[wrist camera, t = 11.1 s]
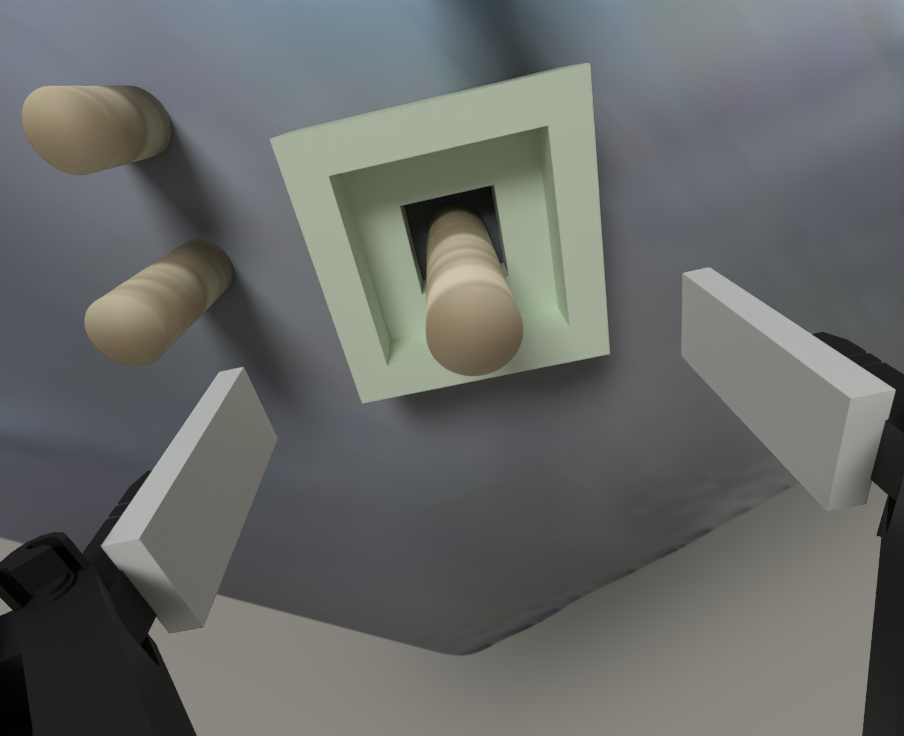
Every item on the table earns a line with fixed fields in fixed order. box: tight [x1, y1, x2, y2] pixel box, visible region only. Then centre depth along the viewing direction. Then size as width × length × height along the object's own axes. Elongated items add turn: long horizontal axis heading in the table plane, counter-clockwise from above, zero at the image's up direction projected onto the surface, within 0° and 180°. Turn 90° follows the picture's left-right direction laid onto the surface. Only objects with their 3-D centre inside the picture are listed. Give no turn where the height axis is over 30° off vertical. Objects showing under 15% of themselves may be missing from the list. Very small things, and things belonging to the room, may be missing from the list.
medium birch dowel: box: [84, 240, 233, 366], centre depth 27 cm, size 3×3×9 cm
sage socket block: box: [270, 63, 610, 403], centre depth 28 cm, size 14×14×6 cm
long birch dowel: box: [426, 203, 523, 376], centre depth 24 cm, size 3×3×14 cm
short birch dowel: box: [22, 86, 172, 175], centre depth 24 cm, size 3×3×6 cm
